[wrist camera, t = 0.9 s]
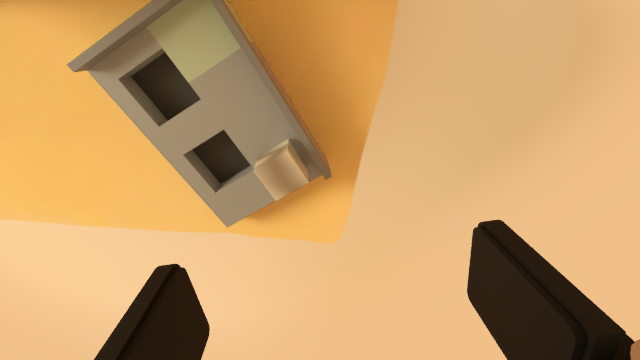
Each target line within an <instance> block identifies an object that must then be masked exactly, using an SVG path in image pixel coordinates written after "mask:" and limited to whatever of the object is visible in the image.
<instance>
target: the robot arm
mask: <svg viewBox="0 0 640 360" xmlns="http://www.w3.org/2000/svg"><path fill="white" fill-rule="evenodd" d="M467 293H468V297H469V300H470V302H471V303H472V305H473V307H474V308H475V310H476V311H477V313H478V314H479V316H480V317H481V319H482V321H483V322H484V324H485V325H486V327H487V328H488V330H489V332H490V333H491V335H492V336H493V338H494V339H495V341H496V343H497V344H498V346H499V347H500V349H501V350H502V352H503V354H504V355H505V357H506V358H507V360H640V340H637V341H636V342H634V341H633V340H632V339H631V338H630V337H629V336H627V334H626V332H625V331H624V330H623V329H622V328H621V327H620V326H619V325H617V324H616V323H615V322H614V321H613V320H612V319H611V318H610V317H609V316H607V315H606V314H605V313H604V312H603V311H602V310H601V309H600V308H599V307H597V306H596V305H595V304H594V303H593V302H592V301H591V300H590V299H588V298H587V297H586V296H585V295H584V294H583V293H582V292H581V291H580V290H578V289H577V288H576V287H575V286H574V285H573V284H572V283H571V282H570V281H569V280H567V279H566V278H565V277H564V276H563V275H562V274H561V273H560V272H558V271H557V270H556V269H555V268H554V267H553V266H552V265H551V264H550V263H548V262H547V261H546V260H545V259H544V258H543V257H542V256H541V255H540V254H538V253H537V252H536V251H535V250H534V249H533V248H532V247H530V245H528V244H527V243H526V242H525V241H524V240H523V239H522V238H521V237H519V236H518V235H517V234H516V233H515V232H514V231H513V230H511V228H509V227H508V226H507V225H506V224H505V223H504V222H503V221H501V220H493V221H486V222H480V223H479V224H478V227H477V228H474V230H473V237H472V247H471V257H470V267H469V277H468V287H467ZM208 337H209V324H208V321H207V319H206V316H205V314H204V312H203V309H202V307H201V305H200V302H199V300H198V298H197V295H196V293H195V290H194V288H193V286H192V283H191V281H190V278H189V276H188V274H187V272H186V269H185V268H181V267H180V266H179V265H178V264H170V265H163V266H158V267H157V268H156V269H155V270H154V272H153V273H152V275H151V276H150V277H149V279H148V280H147V282H146V283H145V285H144V286H143V288H142V289H141V291H140V292H139V294H138V295H137V297H136V298H135V300H134V301H133V303H132V304H131V306H130V307H129V309H128V310H127V312H126V313H125V314H124V316H123V318H122V319H121V320H120V322H119V323H118V325H117V326H116V328H115V329H114V331H113V332H112V334H111V335H110V337H109V338H108V340H107V341H106V343H105V344H104V346H103V347H102V349H101V350H100V351H99V353H98V354H97V356H96V357H95V359H94V360H201V358H202V354H203V352H204V348H205V346H206V343H207V340H208Z"/></svg>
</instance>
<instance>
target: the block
mask: <svg viewBox="0 0 640 360" xmlns="http://www.w3.org/2000/svg"><path fill="white" fill-rule="evenodd" d="M253 172H254V173H255V174H256V175H257V177H258V178H259V179H260V181H261V182H262V183H263V185H264V186H265V187H266V189H267V190H268V191H269V193H270V194H271V195H272V197H273V198H274V199H275V200H276V201H277V200H279V199H281V198H282V197H284V196H286V195H288V194H289V193H291V192H293V191H295V190H297V189H298V188H300V187H302V186H304V185H306V184H307V183H309V177H308V167H307V166H306V164H305V163H304V161H303V160H302V158H301V156H300V155H299V153H298V152H297V150H296V149H295V147H294V146H293V144H292V143H291V141H290V140H289V139H287V140H285V141H284V142H282V143H280V144H278V145H277V146H275V147H273V148H272V149H270V150H268V151H267V152H265V153H263V154H262V155H260V156H258V158H257V161H256V164H255V167H254V170H253Z"/></svg>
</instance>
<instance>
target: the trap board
mask: <svg viewBox="0 0 640 360" xmlns="http://www.w3.org/2000/svg"><path fill="white" fill-rule="evenodd" d="M67 65H68V66H69V68H70V69H71V70H72V71H73V72H79V71H86V70H87V71H88V72H89V73H90V74H91V75H92V77H93V78H94V79H95V80H96V81H97V82H98V83H99V84H100V85H101V87H102V88H103V89H104V90H105V91H106V92H107V93H108V94H109V96H110V97H111V98H112V99H113V100H114V101H115V102H116V103H117V105H118V106H119V107H120V108H121V109H122V110H123V111H124V112H125V113H126V115H127V116H128V117H129V118H130V119H131V120H132V121H133V122H134V124H135V125H136V126H137V127H138V128H139V129H140V130H141V131H142V132H143V134H144V135H145V136H146V137H147V138H148V139H149V140H150V141H151V143H152V144H153V145H154V146H155V147H156V148H157V149H158V150H159V152H160V153H161V154H162V155H163V156H164V157H165V158H166V159H167V160H168V162H169V163H170V164H171V165H172V166H173V167H174V168H175V169H176V171H177V172H178V173H179V174H180V175H181V176H182V177H183V178H184V179H185V181H186V182H187V183H188V184H189V185H190V186H191V187H192V188H193V190H194V191H195V192H196V193H197V194H198V195H199V196H200V197H201V199H202V200H203V201H204V202H205V203H206V204H207V205H208V206H209V207H210V209H211V210H212V211H213V212H214V213H215V214H216V215H217V216H218V218H219V219H220V220H221V221H222V222H223V223H224V224H225V225H226V226H227V227H229V226H231V225H232V224H234V223H236V222H238V221H240V220H241V219H243V218H245V217H247V216H249V215H250V214H252V213H254V212H256V211H258V210H259V209H261V208H263V207H265V206H267V205H268V204H270V203H272V202H274V201H275V199H274V198H273V197H272V195H271V194H270V193H269V191H268V190H267V189H266V187H265V186H264V185H263V183H262V182H261V181H260V179H259V178H258V177H257V175H256V174H255V173H254V172H253V170H254V167H255V164H256V161H257V158H258V156H260V155H262V154H263V153H265V152H267V151H268V150H270V149H272V148H273V147H275V146H277V145H278V144H280V143H282V142H284V141H285V140H287V139H289V140H290V141H291V143H292V144H293V146H294V147H295V149H296V150H297V152H298V153H299V155H300V156H301V158H302V160H303V161H304V163H305V164H306V166H307V167H308V177H309V181H311V180H313V179H315V178H317V177H318V176H320V175H323V176H324V178H325V179H328V178H330V177H332V176H331V172H330V168H329V164H328V161H327V159H326V158H325V156H324V154H323V153H322V151H321V150H320V148H319V146H318V145H317V143H316V142H315V140H314V138H313V137H312V135H311V133H310V132H309V130H308V129H307V127H306V125H305V124H304V122H303V121H302V119H301V117H300V116H299V114H298V112H297V111H296V109H295V108H294V106H293V104H292V103H291V101H290V100H289V98H288V96H287V95H286V93H285V91H284V90H283V88H282V87H281V85H280V83H279V82H278V80H277V79H276V77H275V75H274V74H273V72H272V70H271V69H270V67H269V66H268V64H267V62H266V61H265V59H264V58H263V56H262V54H261V53H260V51H259V49H258V48H257V46H256V45H255V43H254V41H253V40H252V38H251V37H250V35H249V33H248V32H247V30H246V28H245V27H244V25H243V24H242V22H241V20H240V19H239V17H238V16H237V14H236V12H235V11H234V9H233V7H232V6H231V4H230V3H229V1H228V0H152V1H151V2H150V3H148V4H147V5H146V6H144V7H143V8H142V9H140V10H139V11H138V12H136V13H135V14H134V15H132V16H131V17H130V18H128V19H127V20H126V21H124V22H123V23H122V24H120V25H119V26H118V27H116V28H115V29H114V30H112V31H111V32H110V33H108V34H107V35H106V36H104V37H103V38H102V39H100V40H99V41H98V42H96V43H95V44H94V45H92V46H91V47H90V48H88V49H87V50H86V51H84V52H83V53H82V54H80V55H79V56H78V57H76V58H75V59H74V60H72V61H71V62H70V63H68V64H67Z"/></svg>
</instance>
